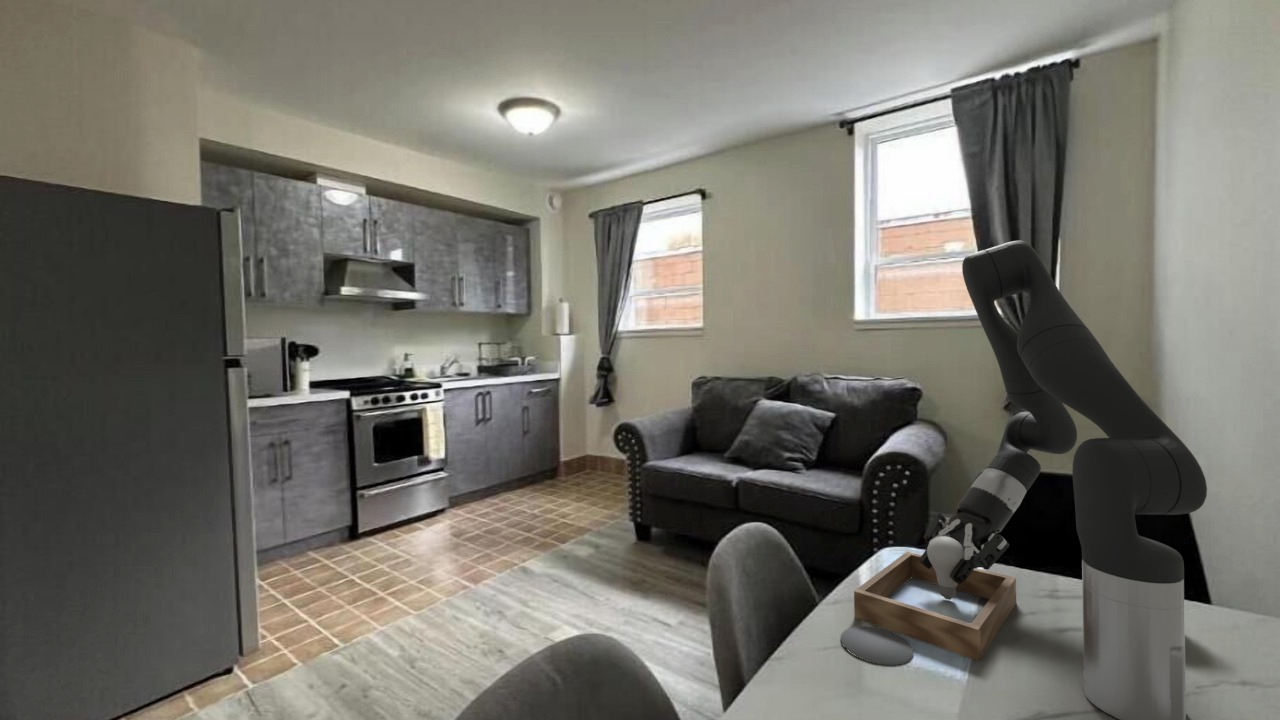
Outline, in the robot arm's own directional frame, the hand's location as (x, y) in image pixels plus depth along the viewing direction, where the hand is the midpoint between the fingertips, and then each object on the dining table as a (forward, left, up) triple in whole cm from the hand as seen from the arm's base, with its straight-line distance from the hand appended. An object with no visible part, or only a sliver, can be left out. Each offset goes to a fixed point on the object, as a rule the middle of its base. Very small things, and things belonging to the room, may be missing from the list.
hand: (939, 572), depth 93 cm
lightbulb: (-1, -1, -5) cm, 5 cm away
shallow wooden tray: (-1, +4, -5) cm, 6 cm away
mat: (+2, +22, -5) cm, 22 cm away
